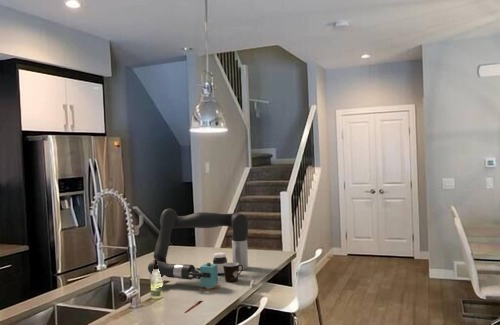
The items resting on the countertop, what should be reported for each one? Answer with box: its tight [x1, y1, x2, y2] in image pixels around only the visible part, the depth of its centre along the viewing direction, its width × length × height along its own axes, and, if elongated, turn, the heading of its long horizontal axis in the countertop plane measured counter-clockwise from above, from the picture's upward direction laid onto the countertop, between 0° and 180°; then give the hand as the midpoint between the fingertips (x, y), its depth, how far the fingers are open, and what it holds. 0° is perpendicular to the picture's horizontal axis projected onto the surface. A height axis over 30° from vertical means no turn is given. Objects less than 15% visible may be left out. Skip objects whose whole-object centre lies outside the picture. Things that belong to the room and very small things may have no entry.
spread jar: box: [210, 252, 228, 276], centre depth 254 cm, size 12×11×12 cm
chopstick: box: [184, 300, 204, 314], centre depth 202 cm, size 2×24×1 cm, turn 160°
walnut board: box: [197, 284, 222, 292], centre depth 222 cm, size 10×10×1 cm
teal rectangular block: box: [199, 262, 219, 288], centre depth 222 cm, size 7×7×11 cm
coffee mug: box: [223, 261, 244, 284], centre depth 234 cm, size 12×9×10 cm
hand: (213, 273), depth 221 cm, fingers closed on teal rectangular block, 6 cm apart
